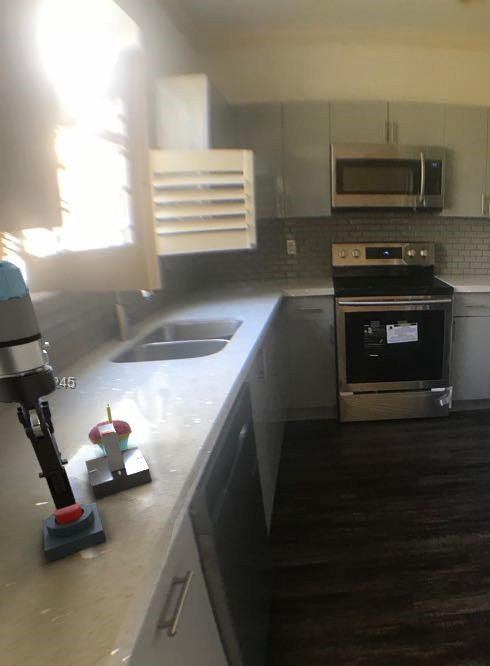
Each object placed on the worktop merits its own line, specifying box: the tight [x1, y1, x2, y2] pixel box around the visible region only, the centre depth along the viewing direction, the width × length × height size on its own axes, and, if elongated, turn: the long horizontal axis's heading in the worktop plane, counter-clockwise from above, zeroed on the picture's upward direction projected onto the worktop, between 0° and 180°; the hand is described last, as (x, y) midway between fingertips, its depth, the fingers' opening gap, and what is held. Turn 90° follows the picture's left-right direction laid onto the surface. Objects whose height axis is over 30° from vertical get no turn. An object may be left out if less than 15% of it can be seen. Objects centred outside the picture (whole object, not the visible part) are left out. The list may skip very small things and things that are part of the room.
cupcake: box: [87, 403, 132, 455], centre depth 104 cm, size 9×8×12 cm
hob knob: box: [98, 423, 125, 472], centre depth 92 cm, size 6×3×8 cm, turn 37°
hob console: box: [85, 446, 153, 500], centre depth 94 cm, size 12×10×3 cm
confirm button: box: [53, 502, 82, 524], centre depth 76 cm, size 4×4×2 cm
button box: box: [42, 501, 107, 563], centre depth 77 cm, size 10×8×4 cm
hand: (66, 504), depth 75 cm, fingers closed
